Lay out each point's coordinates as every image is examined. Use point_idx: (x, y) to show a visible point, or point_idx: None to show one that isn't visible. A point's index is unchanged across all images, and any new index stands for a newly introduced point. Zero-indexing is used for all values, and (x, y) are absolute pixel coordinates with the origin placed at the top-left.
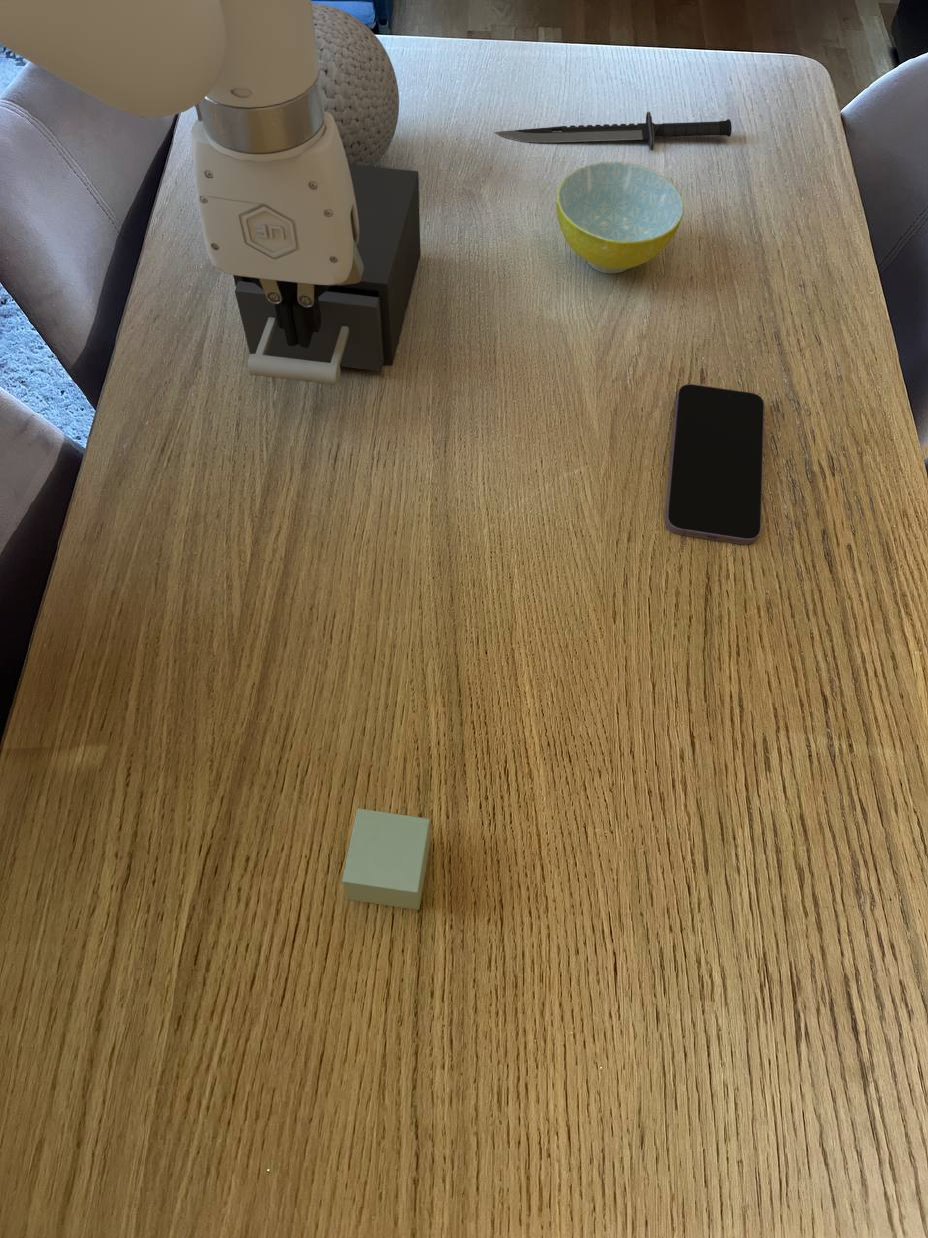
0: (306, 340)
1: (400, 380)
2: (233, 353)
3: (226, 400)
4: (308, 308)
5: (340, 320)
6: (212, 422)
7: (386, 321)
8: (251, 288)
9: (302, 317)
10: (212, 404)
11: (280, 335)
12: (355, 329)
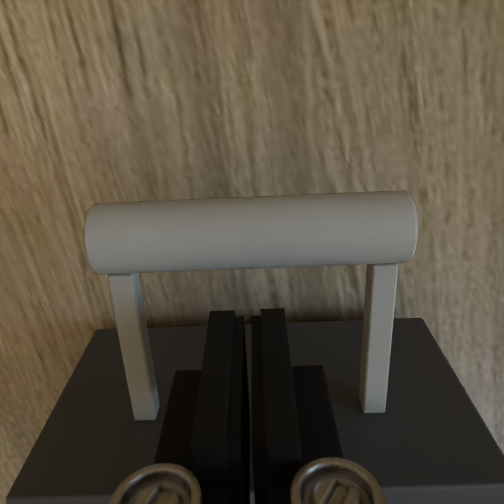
0: (209, 331)
1: (61, 319)
2: (462, 323)
3: (457, 182)
4: (178, 458)
5: (155, 434)
6: (484, 100)
7: None
8: (461, 500)
9: (196, 410)
10: (492, 162)
11: (346, 368)
12: (116, 414)
